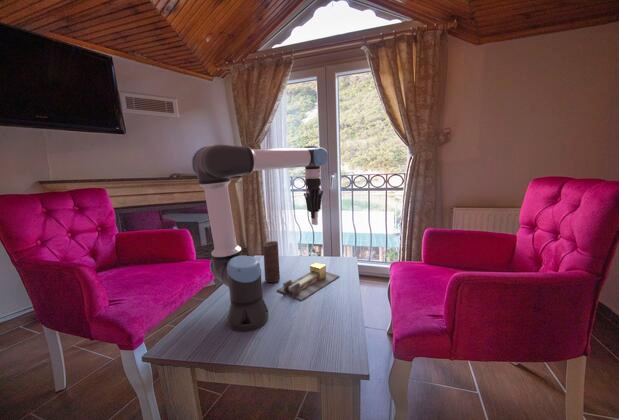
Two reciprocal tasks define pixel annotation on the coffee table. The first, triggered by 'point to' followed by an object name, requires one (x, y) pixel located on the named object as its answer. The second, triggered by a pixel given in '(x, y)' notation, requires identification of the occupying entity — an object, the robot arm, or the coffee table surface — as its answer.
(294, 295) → the tongs base
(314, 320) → the coffee table surface
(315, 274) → the bar
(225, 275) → the robot arm
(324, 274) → the collar
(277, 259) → the brown wooden block
